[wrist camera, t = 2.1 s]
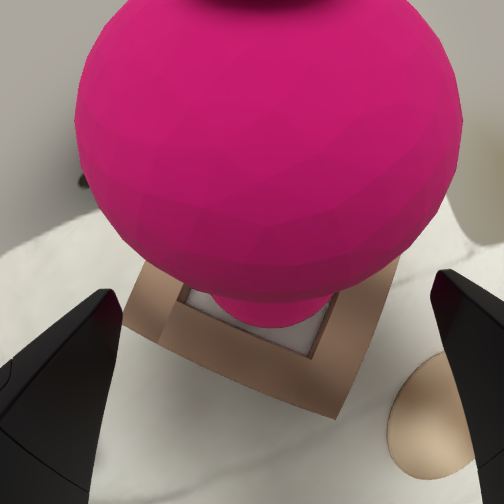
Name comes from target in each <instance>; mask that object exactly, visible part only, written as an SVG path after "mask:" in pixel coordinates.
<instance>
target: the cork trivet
mask: <svg viewBox="0 0 504 504" xmlns="http://www.w3.org/2000/svg"><path fill="white" fill-rule="evenodd" d="M387 441H388V447H389V451H390V454H391V456H392V458H393V460H394V461H395V463H396V464H397V465H398V466H399V467H400V468H401V469H402V470H403V471H404V472H405V473H407V474H408V475H410V476H412V477H414V478H418V479H424V480H432V479H439V478H443V477H446V476H449V475H451V474H453V473H455V472H457V471H459V470H460V469H462V468H463V467H465V466H466V465H467V464H469V463H470V462H471V461H472V460H473V459H474V458H475V455H474V451H473V446H472V442H471V438H470V433H469V429H468V425H467V422H466V418H465V414H464V410H463V407H462V403H461V400H460V396H459V393H458V390H457V387H456V383H455V380H454V377H453V374H452V371H451V368H450V365H449V362H448V359H447V356H446V353H445V351H444V352H442V353H439V354H437V355H435V356H434V357H432V358H430V359H429V360H427V361H426V362H425V363H423V364H422V365H421V366H420V367H419V368H418V369H417V370H416V371H415V372H414V373H413V374H412V375H411V376H410V377H409V379H408V380H407V381H406V383H405V384H404V386H403V387H402V389H401V390H400V392H399V394H398V396H397V398H396V400H395V402H394V404H393V407H392V409H391V413H390V417H389V421H388V427H387Z"/></svg>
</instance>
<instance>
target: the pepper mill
mask: <svg viewBox="0 0 504 504" xmlns="http://www.w3.org/2000/svg"><path fill="white" fill-rule="evenodd" d="M74 122H75V130H76V137H77V144H78V151H79V157H80V163H81V168H82V170H83V172H84V175H85V177H86V179H87V182H88V184H89V186H90V189H91V191H92V193H93V195H94V197H95V200H96V202H97V204H98V206H99V208H100V210H101V211H102V212H103V214H104V215H105V216H106V218H107V219H108V221H109V222H110V223H111V225H112V226H113V227H114V229H115V230H116V231H117V233H118V234H119V235H120V237H121V238H122V239H123V240H124V241H125V242H126V243H127V244H128V245H129V246H130V247H132V248H133V249H134V250H135V251H136V252H137V253H138V254H139V255H140V256H142V257H143V258H144V259H145V260H146V261H147V262H149V263H150V264H152V265H153V266H155V267H156V268H158V269H160V270H161V271H163V272H165V273H167V274H168V275H170V276H172V277H174V278H175V279H177V280H179V281H181V282H182V283H184V284H186V285H188V286H190V287H191V288H193V289H195V290H197V291H200V292H204V293H208V294H211V296H212V297H213V299H214V300H215V301H216V302H217V304H218V305H219V306H220V307H221V308H223V309H224V310H225V311H226V312H227V313H228V314H230V315H231V316H233V317H234V318H236V319H238V320H240V321H242V322H244V323H246V324H249V325H253V326H257V327H264V328H282V327H286V326H291V325H294V324H297V323H299V322H302V321H304V320H306V319H307V318H309V317H311V316H313V315H314V314H315V313H316V312H318V311H319V310H320V309H321V308H322V307H323V306H324V305H325V304H326V303H327V302H328V300H329V299H330V298H331V297H332V296H333V294H334V293H336V292H339V291H342V290H344V289H347V288H350V287H353V286H355V285H358V284H359V283H361V282H362V281H364V280H366V279H367V278H369V277H371V276H372V275H374V274H376V273H377V272H379V271H380V270H382V269H383V268H385V267H386V266H387V265H388V264H389V263H391V262H392V261H393V260H394V259H396V258H397V257H398V256H399V255H401V254H402V253H403V252H404V251H405V250H407V249H408V248H409V247H410V246H411V245H412V243H413V242H414V241H415V240H416V239H417V237H418V236H419V235H420V234H421V232H422V231H423V230H424V229H425V227H426V226H427V225H428V224H429V222H430V221H431V220H432V218H433V217H434V216H435V215H436V213H437V212H438V209H439V207H440V205H441V203H442V201H443V199H444V197H445V194H446V192H447V190H448V188H449V185H450V183H451V181H452V179H453V176H454V174H455V172H456V167H457V161H458V155H459V148H460V141H461V134H462V125H463V124H462V123H463V117H462V111H461V104H460V99H459V94H458V88H457V83H456V78H455V74H454V71H453V69H452V66H451V64H450V62H449V59H448V57H447V55H446V53H445V50H444V48H443V46H442V44H441V42H440V40H439V38H438V37H437V36H436V34H435V33H434V32H433V30H432V29H431V28H430V27H429V25H428V24H427V22H426V21H425V20H424V19H423V18H422V16H421V15H420V14H419V13H418V11H417V10H416V9H415V8H414V7H413V6H412V5H411V4H410V3H409V2H408V1H407V0H128V1H127V3H125V4H124V5H123V7H122V8H121V9H120V10H119V11H118V12H117V13H116V14H115V15H114V16H113V17H112V18H111V19H110V21H109V22H108V23H107V24H106V25H105V26H104V28H103V30H102V31H101V33H100V35H99V37H98V38H97V40H96V42H95V44H94V45H93V47H92V49H91V51H90V53H89V55H88V57H87V59H86V63H85V66H84V69H83V72H82V76H81V79H80V83H79V88H78V95H77V102H76V110H75V119H74Z"/></svg>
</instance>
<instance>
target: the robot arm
mask: <svg viewBox="0 0 504 504" xmlns="http://www.w3.org/2000/svg"><path fill="white" fill-rule="evenodd" d="M430 300H431V304H432V308H433V311H434V315H435V318H436V322H437V326H438V329H439V333H440V337H441V341H442V344H443V347H444V350H445V353H446V356H447V359H448V362H449V365H450V368H451V371H452V374H453V377H454V380H455V383H456V387H457V390H458V393H459V396H460V400H461V403H462V407H463V410H464V414H465V418H466V422H467V425H468V429H469V433H470V438H471V442H472V446H473V451H474V455H475V460H476V465H477V469H478V476H479V482H480V488H481V494H482V501H483V504H504V301H502V300H501V299H499V298H497V297H496V296H494V295H493V294H491V293H490V292H488V291H486V290H485V289H483V288H482V287H480V286H478V285H477V284H475V283H474V282H472V281H470V280H469V279H467V278H465V277H464V276H462V275H460V274H459V273H457V272H455V271H454V270H452V269H443V270H439V271H438V272H437V274H436V276H435V280H434V283H433V286H432V289H431V293H430ZM122 321H123V312H122V309H121V306H120V304H119V302H118V299H117V297H116V294H115V292H114V291H113V290H112V289H98V290H97V291H96V292H94V293H93V294H92V295H90V296H89V297H88V298H86V299H85V300H84V301H82V302H81V303H80V304H79V305H77V306H76V307H75V308H73V309H72V310H71V311H70V312H68V313H67V314H66V315H64V316H63V317H62V318H61V319H59V320H58V321H57V322H56V323H54V324H53V325H52V326H51V327H49V328H48V329H47V330H46V331H44V332H43V333H42V334H41V335H39V336H38V337H37V338H36V339H34V340H33V341H32V342H31V343H30V344H28V345H27V346H26V347H25V348H24V349H22V350H21V351H20V352H19V353H18V354H16V355H15V356H14V357H13V359H10V360H9V361H8V362H7V363H6V364H5V365H3V366H2V367H1V368H0V504H88V501H89V492H90V485H91V479H92V472H93V466H94V460H95V455H96V449H97V444H98V439H99V434H100V429H101V424H102V419H103V415H104V410H105V405H106V401H107V397H108V393H109V388H110V384H111V380H112V376H113V372H114V368H115V363H116V358H117V351H118V345H119V338H120V332H121V326H122Z"/></svg>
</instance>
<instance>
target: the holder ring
mask: <svg viewBox="0 0 504 504" xmlns="http://www.w3.org/2000/svg"><path fill="white" fill-rule="evenodd" d="M399 258H400V255H399V256H398V257H397V258H396V259H394V260H393V261H392V262H391V263H389V264H388V265H387V266H386V267H385V268H383V269H382V270H380V271H379V272H377V273H376V274H374V275H372V276H371V277H369V278H367V279H366V280H364V281H362V282H361V283H359V284H358V285H355V286H353V287H350V288H347V289H344V290H342V291H339V292H336V293H334V294H333V297H332V299H331V302H330V305H329V307H328V310H327V312H326V314H325V317H324V319H323V322H322V324H321V327H320V329H319V331H318V334H317V336H316V339H315V341H314V343H313V346H312V348H311V350H310V352H309V355H308V356H306V355H303V354H301V353H298V352H296V351H293V350H291V349H288V348H286V347H283V346H281V345H278V344H276V343H274V342H271V341H269V340H266V339H264V338H262V337H259V336H257V335H255V334H252V333H250V332H248V331H245V330H243V329H241V328H238V327H236V326H234V325H232V324H229V323H227V322H225V321H223V320H221V319H218V318H216V317H214V316H212V315H210V314H207V313H205V312H203V311H201V310H199V309H197V308H194V307H192V306H190V305H188V304H186V303H185V301H186V299H187V297H188V294H189V292H190V290H191V287H190V286H188V285H186V284H184V283H182V282H181V281H179V280H177V279H175V278H174V277H172V276H170V275H168V274H167V273H165V272H163V271H161V270H160V269H158V268H156V267H155V266H153V265H152V264H150V263H149V262H147V261H145V263H144V265H143V267H142V270H141V272H140V274H139V276H138V279H137V281H136V283H135V285H134V288H133V290H132V292H131V295H130V297H129V299H128V302H127V304H126V306H125V309H124V311H123V321H122V325H124V326H126V327H128V328H129V329H131V330H133V331H135V332H136V333H138V334H140V335H142V336H144V337H145V338H147V339H149V340H151V341H153V342H155V343H157V344H159V345H160V346H162V347H164V348H166V349H168V350H170V351H172V352H174V353H176V354H178V355H180V356H182V357H184V358H186V359H188V360H190V361H192V362H194V363H196V364H198V365H200V366H202V367H205V368H207V369H209V370H211V371H213V372H215V373H217V374H220V375H222V376H224V377H226V378H229V379H231V380H233V381H235V382H238V383H240V384H242V385H245V386H247V387H249V388H252V389H254V390H256V391H259V392H261V393H264V394H266V395H269V396H271V397H274V398H276V399H279V400H281V401H284V402H287V403H289V404H292V405H295V406H297V407H300V408H303V409H306V410H308V411H311V412H314V413H317V414H320V415H323V416H326V417H329V418H332V419H335V420H336V418H337V416H338V414H339V412H340V410H341V408H342V406H343V403H344V401H345V399H346V397H347V395H348V393H349V391H350V388H351V386H352V384H353V382H354V380H355V377H356V375H357V373H358V371H359V368H360V366H361V363H362V361H363V359H364V356H365V354H366V351H367V349H368V347H369V344H370V342H371V339H372V336H373V334H374V331H375V329H376V326H377V323H378V321H379V318H380V315H381V313H382V310H383V307H384V304H385V301H386V298H387V295H388V293H389V290H390V287H391V284H392V280H393V277H394V274H395V271H396V268H397V265H398V261H399Z"/></svg>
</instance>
